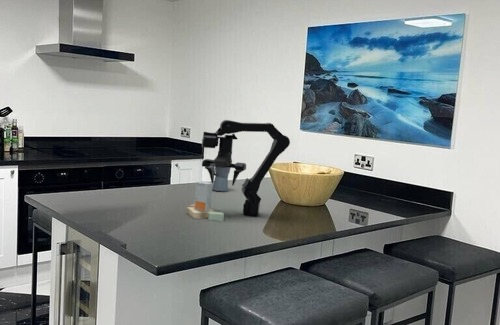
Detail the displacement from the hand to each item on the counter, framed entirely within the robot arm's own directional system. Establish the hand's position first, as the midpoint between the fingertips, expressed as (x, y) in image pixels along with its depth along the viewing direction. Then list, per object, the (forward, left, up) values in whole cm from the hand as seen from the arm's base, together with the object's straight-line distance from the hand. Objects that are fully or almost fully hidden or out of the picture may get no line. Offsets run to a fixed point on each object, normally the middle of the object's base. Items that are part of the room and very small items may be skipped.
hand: (222, 184), depth 215 cm
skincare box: (+6, +8, -11) cm, 15 cm away
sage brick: (-1, +12, -13) cm, 18 cm away
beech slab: (+6, +9, -13) cm, 17 cm away
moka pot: (+14, -52, -13) cm, 55 cm away
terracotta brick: (+11, +2, -13) cm, 17 cm away
